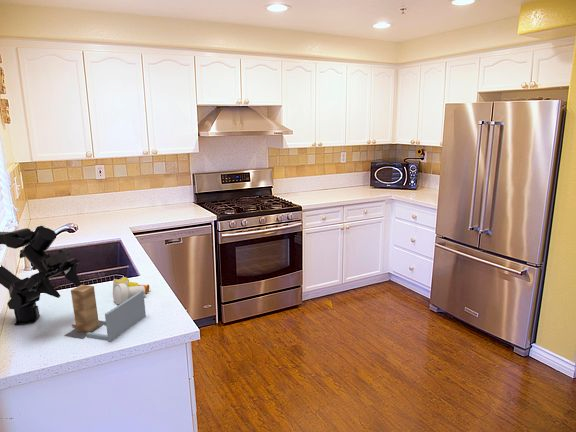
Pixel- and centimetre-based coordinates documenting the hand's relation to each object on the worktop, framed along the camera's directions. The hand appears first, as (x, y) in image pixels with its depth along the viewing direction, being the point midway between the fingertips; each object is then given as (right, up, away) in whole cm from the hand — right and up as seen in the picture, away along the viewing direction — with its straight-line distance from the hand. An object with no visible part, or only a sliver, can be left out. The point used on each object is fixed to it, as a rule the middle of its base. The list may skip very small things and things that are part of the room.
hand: (70, 291), depth 142 cm
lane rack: (+15, -13, +3) cm, 20 cm away
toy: (+9, -6, +35) cm, 36 cm away
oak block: (+4, -13, +2) cm, 14 cm away
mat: (+5, -13, +2) cm, 14 cm away
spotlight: (+11, -8, +24) cm, 28 cm away
